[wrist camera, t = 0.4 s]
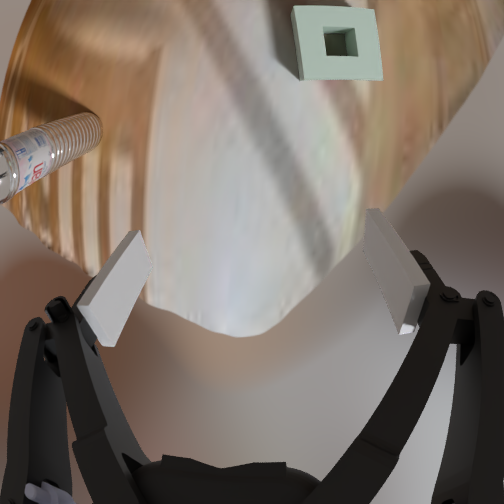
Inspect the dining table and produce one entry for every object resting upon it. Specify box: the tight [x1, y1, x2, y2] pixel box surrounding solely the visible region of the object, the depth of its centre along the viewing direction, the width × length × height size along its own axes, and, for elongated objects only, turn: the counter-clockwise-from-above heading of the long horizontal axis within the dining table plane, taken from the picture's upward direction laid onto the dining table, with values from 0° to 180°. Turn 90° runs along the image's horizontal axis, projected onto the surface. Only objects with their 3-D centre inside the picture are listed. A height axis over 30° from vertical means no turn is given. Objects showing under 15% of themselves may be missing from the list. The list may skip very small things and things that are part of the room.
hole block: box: [290, 6, 383, 81], centre depth 27 cm, size 10×10×5 cm
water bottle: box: [0, 112, 103, 204], centre depth 26 cm, size 7×7×25 cm
